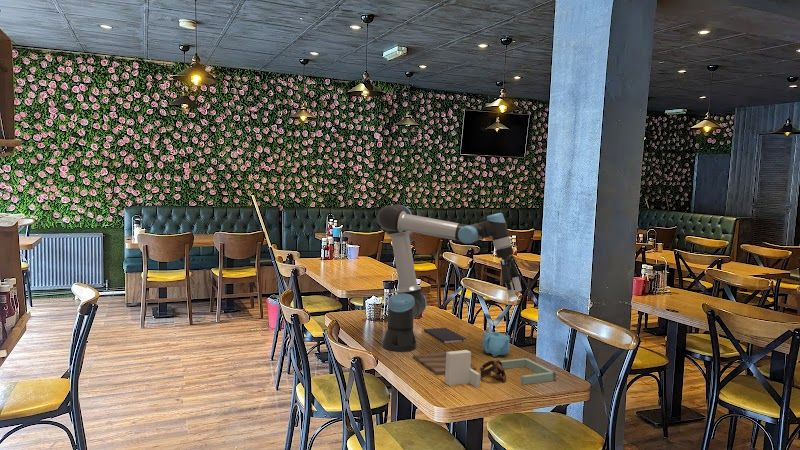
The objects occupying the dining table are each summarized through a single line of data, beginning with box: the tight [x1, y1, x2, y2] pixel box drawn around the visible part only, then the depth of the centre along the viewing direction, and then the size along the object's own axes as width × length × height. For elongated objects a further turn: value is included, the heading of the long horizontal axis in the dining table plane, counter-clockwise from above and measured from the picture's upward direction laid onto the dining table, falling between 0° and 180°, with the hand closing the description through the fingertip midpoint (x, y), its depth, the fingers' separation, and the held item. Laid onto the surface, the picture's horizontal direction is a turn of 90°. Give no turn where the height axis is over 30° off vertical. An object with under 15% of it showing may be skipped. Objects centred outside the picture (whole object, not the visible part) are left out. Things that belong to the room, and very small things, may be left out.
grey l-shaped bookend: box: [444, 349, 482, 388], centre depth 213 cm, size 13×10×12 cm
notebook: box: [423, 327, 467, 344], centre depth 277 cm, size 13×2×21 cm
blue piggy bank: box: [481, 331, 511, 358], centre depth 251 cm, size 18×14×10 cm
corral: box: [500, 357, 557, 386], centre depth 226 cm, size 19×16×3 cm
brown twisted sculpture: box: [479, 359, 507, 384], centre depth 220 cm, size 12×10×8 cm
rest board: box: [412, 351, 477, 376], centre depth 235 cm, size 22×18×1 cm
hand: (515, 294), depth 249 cm, fingers open, 13 cm apart
